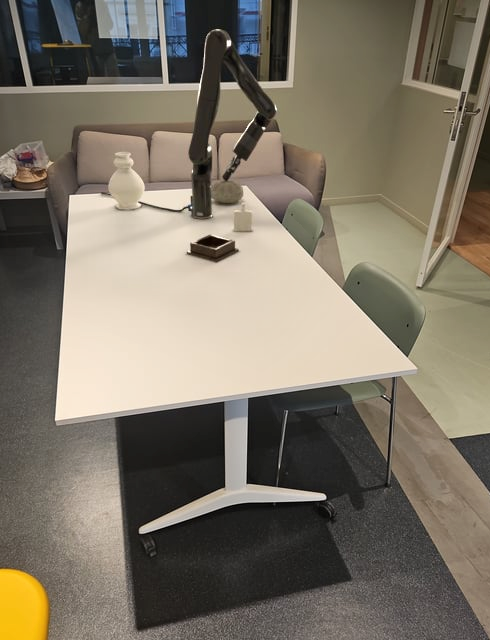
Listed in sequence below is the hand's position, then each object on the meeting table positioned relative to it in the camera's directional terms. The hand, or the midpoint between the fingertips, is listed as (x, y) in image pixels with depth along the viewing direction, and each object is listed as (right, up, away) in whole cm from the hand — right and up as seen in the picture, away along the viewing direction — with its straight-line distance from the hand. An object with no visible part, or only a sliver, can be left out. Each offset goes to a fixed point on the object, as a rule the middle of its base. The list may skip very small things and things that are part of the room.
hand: (224, 179), depth 223 cm
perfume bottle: (+8, -22, +4) cm, 24 cm away
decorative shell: (0, +6, +44) cm, 44 cm away
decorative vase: (-50, 0, +34) cm, 61 cm away
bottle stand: (-4, -37, -19) cm, 42 cm away
